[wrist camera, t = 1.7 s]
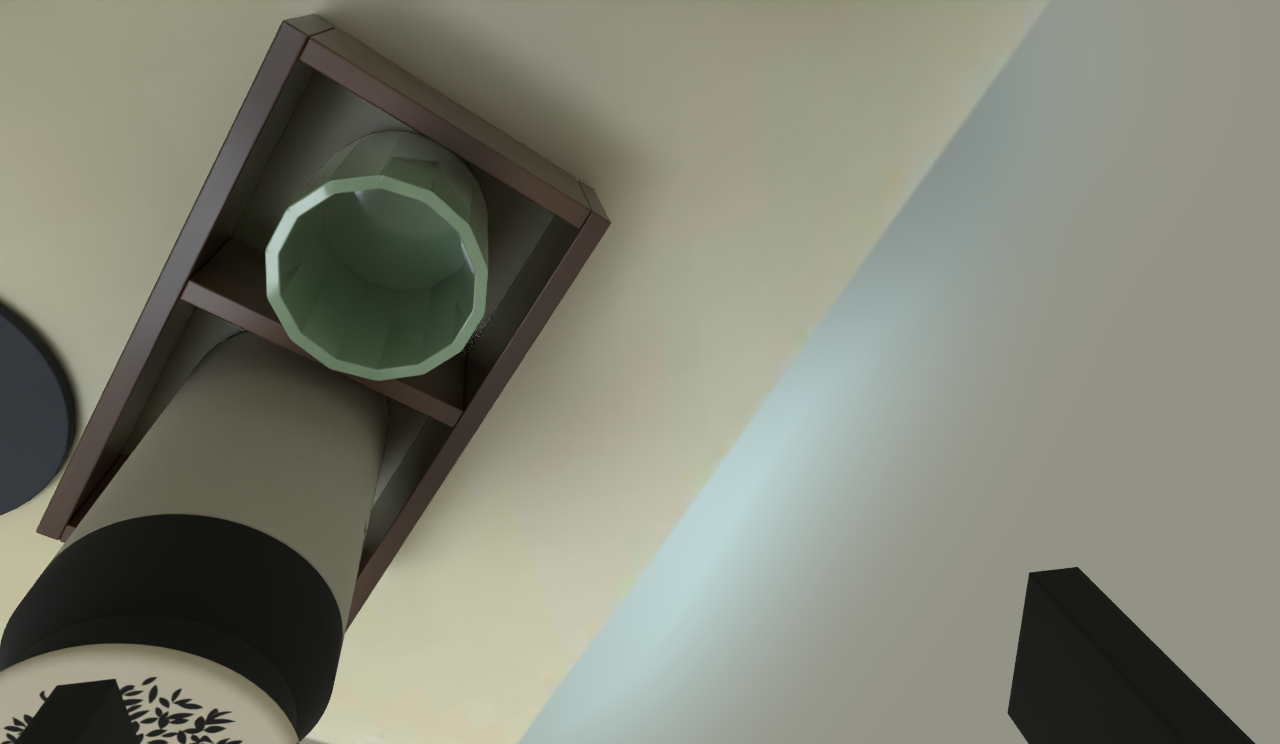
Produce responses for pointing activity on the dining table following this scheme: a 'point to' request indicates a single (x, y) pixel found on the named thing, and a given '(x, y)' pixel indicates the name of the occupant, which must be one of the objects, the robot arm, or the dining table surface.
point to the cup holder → (236, 292)
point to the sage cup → (382, 258)
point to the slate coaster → (30, 414)
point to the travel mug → (214, 559)
